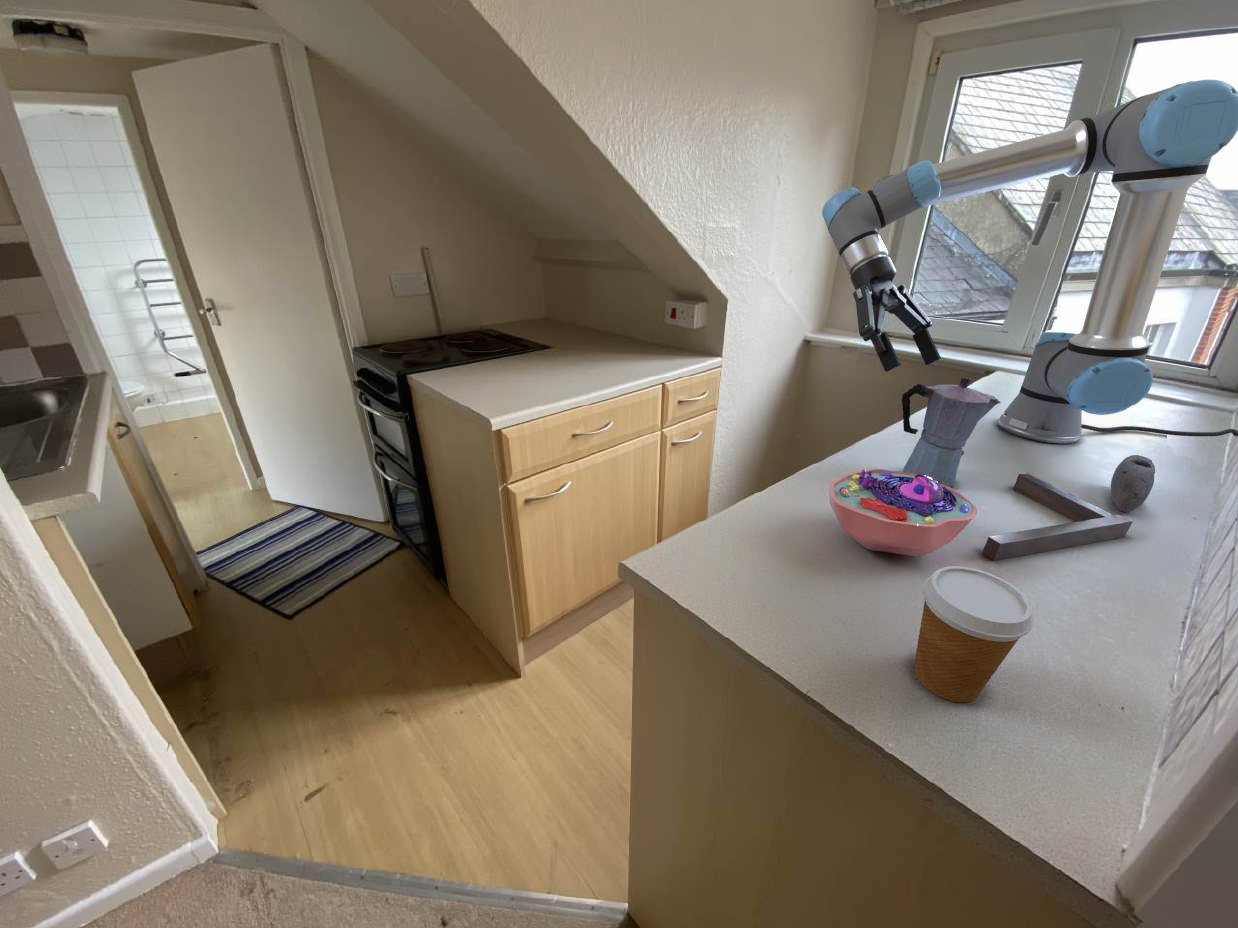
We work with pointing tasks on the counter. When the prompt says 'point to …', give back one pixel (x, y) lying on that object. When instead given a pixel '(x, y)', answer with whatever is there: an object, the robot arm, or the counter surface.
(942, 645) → the disposable coffee cup
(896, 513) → the cell model
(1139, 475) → the perforated stone tool
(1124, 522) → the corner guide
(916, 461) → the moka pot
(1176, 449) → the counter surface
